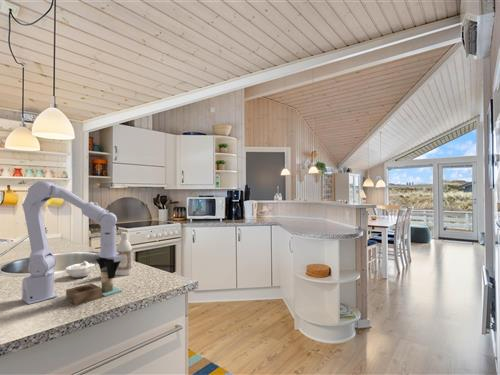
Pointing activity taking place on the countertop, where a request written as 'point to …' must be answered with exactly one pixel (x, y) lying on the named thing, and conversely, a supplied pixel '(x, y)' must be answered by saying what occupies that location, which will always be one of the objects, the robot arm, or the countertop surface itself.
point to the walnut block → (83, 293)
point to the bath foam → (124, 255)
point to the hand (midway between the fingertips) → (108, 276)
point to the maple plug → (106, 281)
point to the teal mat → (111, 292)
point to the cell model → (80, 269)
